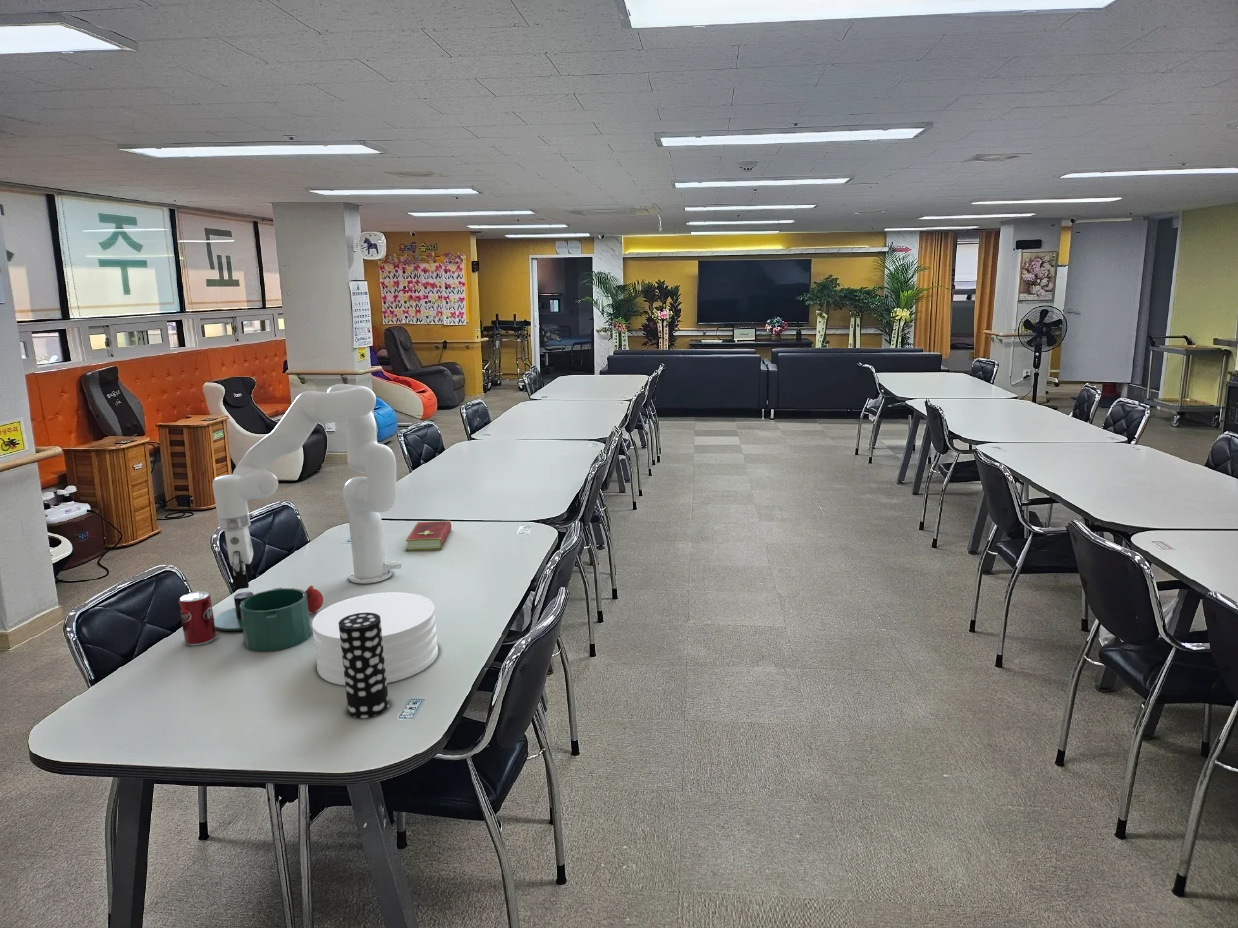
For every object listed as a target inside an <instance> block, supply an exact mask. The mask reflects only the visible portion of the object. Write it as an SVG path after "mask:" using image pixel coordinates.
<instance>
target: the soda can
mask: <svg viewBox="0 0 1238 928" xmlns="http://www.w3.org/2000/svg"><path fill="white" fill-rule="evenodd" d="M178 607H179V612H180V613H179V614H180V620H181V626H182V632H183V640H184V643H186V644H187V645H188V646H201V645H205V644H208V643H211V642H212V641H214V640H215V639H216V637H217V631H216V630H217V629H216V628H215V623H214V618H215V616H214V610H213V602H212V596H211V594H210V593H209V592H207V591H195V592H189V593H186V594H183V595H182V596H181V597H180V598H179V599H178Z"/></svg>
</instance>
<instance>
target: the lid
mask: <svg viewBox="0 0 1238 928" xmlns="http://www.w3.org/2000/svg"><path fill="white" fill-rule="evenodd" d="M252 595H254V592H252V591H242V592H239V593H236V594H234V595H233V602H234V607H233V608H230V609H227V610H225V611H222V612H220V613H219V614H217V615H216V616H214V623H215V629H216V630H220V631H230V632H231V631H232V632H233V631H235V632H236V631H243V626H242V619H241V612H240V604H241V602H242V601H243V600H245V599H246V598H247V597H249V596H252Z"/></svg>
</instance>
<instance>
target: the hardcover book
mask: <svg viewBox="0 0 1238 928" xmlns="http://www.w3.org/2000/svg"><path fill="white" fill-rule="evenodd" d="M451 531H452V521H451V520H435V521H434V520H433V521H417V522H416V524H415V525H414V527H413V528H412V530H411V531H410V532H409V534H408V535H407V537H406V539H405V542H406V544H407V549H406V550H405V551H406V552H418V551H441V550H442V549H443V547H444V545H445V544H446V541H447V539H448V537H449V535H450V534H451Z"/></svg>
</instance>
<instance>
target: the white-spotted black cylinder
mask: <svg viewBox="0 0 1238 928" xmlns="http://www.w3.org/2000/svg"><path fill="white" fill-rule="evenodd" d="M339 632H340V641H341V650H342V659H343V668H344V677H345V685H344V686H345V695H346V703H347V713H348V715H349V716H351V717H353V718H356V719H369V718H373V717H377V716H379V715H382V714H383V713H384V712H386V711H387V710H388V709H389V706H390V703H389V702H390V701H389V692H388V691H389V690H388V683H387V680H386V670H385V660H384V650H383V639H382V629H381V619H380V616H379V615H378V614H375V613H357V614H352V615H349V616H347V617H344V618H343V619H341V620H340V621H339Z"/></svg>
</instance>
